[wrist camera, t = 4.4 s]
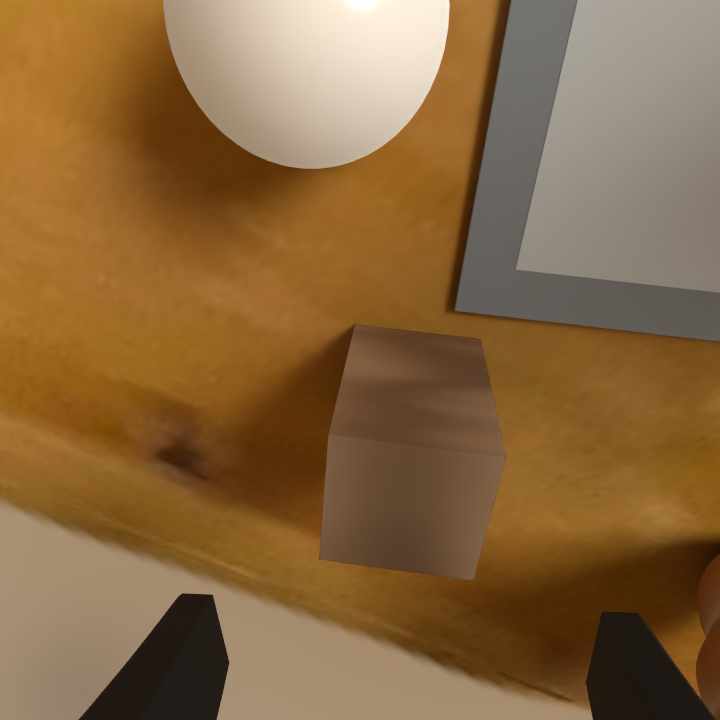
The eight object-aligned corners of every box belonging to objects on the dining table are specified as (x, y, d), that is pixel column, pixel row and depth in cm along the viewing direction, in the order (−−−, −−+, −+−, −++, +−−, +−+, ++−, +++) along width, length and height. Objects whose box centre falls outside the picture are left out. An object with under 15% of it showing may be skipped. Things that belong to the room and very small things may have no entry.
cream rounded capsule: (455, -88, 13) (470, -166, 8) (429, 145, 15) (430, 179, 11) (240, -100, 13) (146, -180, 9) (247, 130, 16) (176, 158, 11)
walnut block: (480, 339, 18) (506, 457, 13) (458, 440, 20) (473, 580, 14) (354, 323, 18) (328, 434, 13) (345, 426, 20) (319, 559, 15)
